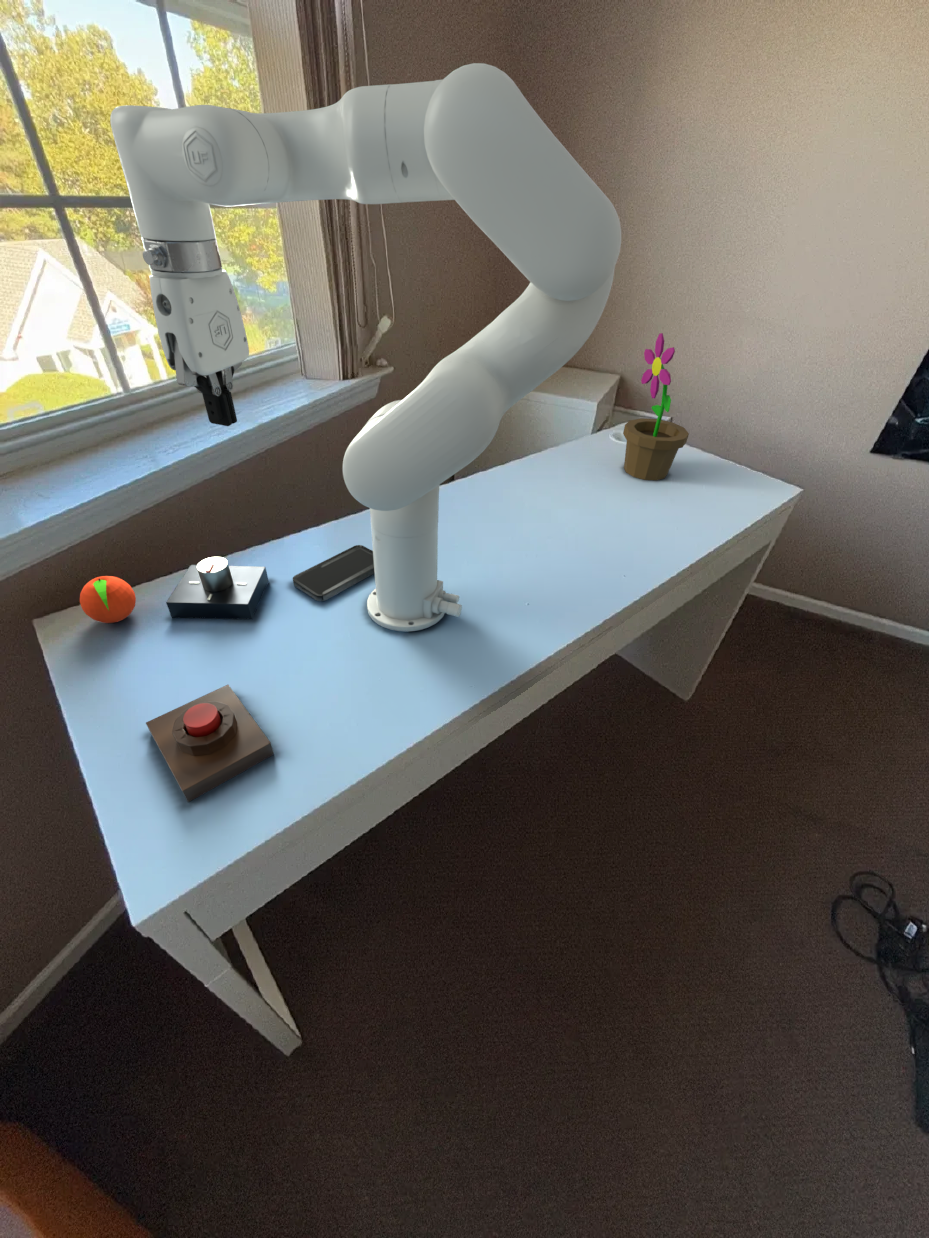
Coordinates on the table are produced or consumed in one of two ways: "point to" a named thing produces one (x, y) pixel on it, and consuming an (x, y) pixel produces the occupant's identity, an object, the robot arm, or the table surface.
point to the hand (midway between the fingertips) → (223, 422)
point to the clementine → (107, 599)
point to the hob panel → (219, 595)
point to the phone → (336, 573)
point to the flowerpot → (654, 425)
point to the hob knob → (215, 574)
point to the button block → (210, 744)
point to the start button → (202, 720)
